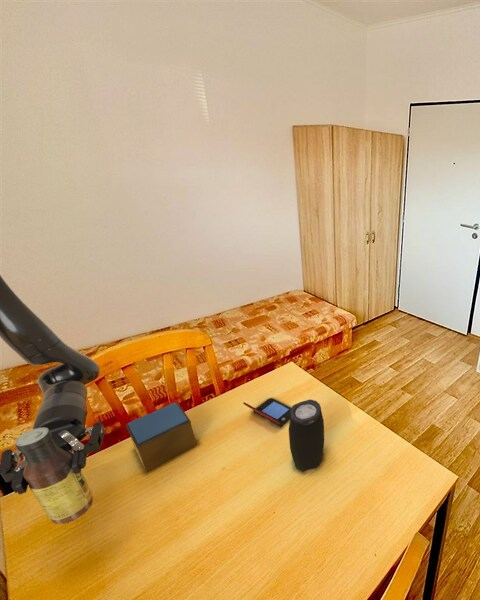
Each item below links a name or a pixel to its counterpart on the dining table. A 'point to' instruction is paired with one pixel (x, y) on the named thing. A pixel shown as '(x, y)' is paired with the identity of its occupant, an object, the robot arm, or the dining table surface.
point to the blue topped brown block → (165, 445)
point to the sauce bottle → (53, 477)
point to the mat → (157, 423)
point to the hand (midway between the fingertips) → (49, 479)
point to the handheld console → (273, 411)
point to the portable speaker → (306, 434)
